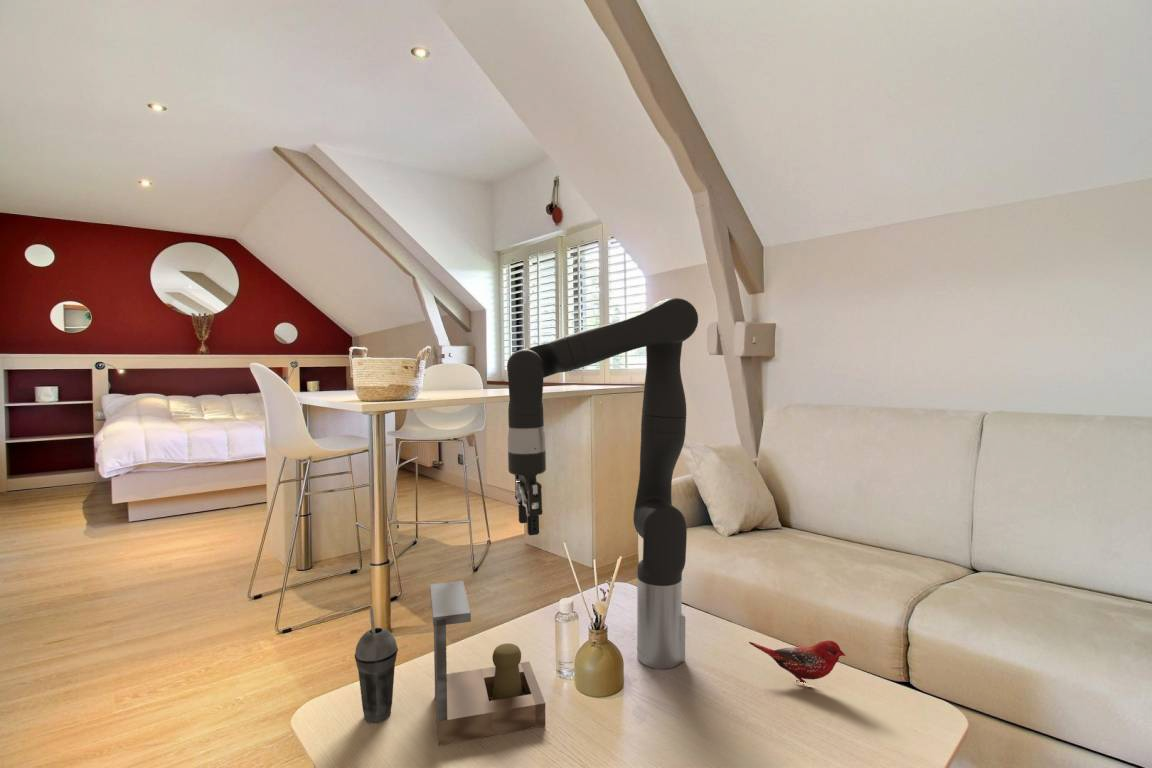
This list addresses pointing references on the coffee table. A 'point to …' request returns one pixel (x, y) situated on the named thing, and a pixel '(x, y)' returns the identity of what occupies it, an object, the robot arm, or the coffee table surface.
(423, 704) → the coffee table surface
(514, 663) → the cork
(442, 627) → the socket stand
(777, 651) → the decorative bird figurine
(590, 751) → the coffee table surface
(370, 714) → the beverage cup
